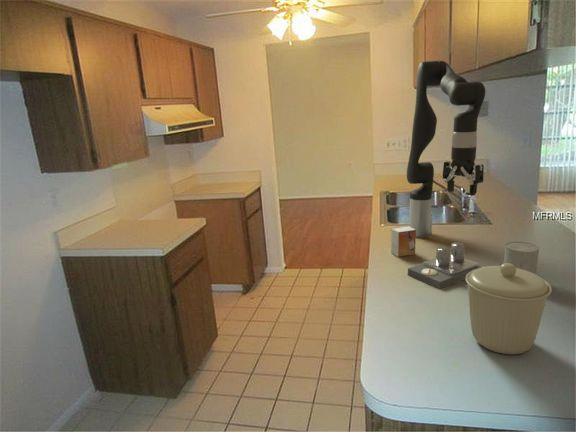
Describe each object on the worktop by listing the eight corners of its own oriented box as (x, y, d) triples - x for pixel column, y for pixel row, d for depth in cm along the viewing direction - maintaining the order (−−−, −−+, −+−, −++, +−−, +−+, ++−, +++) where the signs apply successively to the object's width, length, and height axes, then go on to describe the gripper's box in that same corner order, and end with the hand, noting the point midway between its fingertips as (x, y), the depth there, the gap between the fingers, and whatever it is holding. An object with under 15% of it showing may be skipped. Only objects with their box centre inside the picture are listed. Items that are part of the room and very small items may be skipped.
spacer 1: (441, 261, 141) (442, 245, 139) (452, 265, 137) (453, 249, 136) (433, 264, 139) (433, 248, 137) (443, 268, 135) (444, 252, 134)
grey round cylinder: (505, 273, 137) (508, 239, 134) (537, 279, 131) (541, 244, 128) (498, 283, 130) (502, 248, 127) (532, 290, 124) (536, 253, 121)
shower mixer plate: (449, 255, 148) (450, 253, 148) (478, 265, 138) (478, 263, 138) (423, 264, 142) (423, 261, 142) (451, 275, 132) (451, 272, 131)
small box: (397, 257, 157) (398, 232, 154) (390, 252, 162) (391, 228, 159) (415, 254, 159) (416, 229, 156) (408, 250, 164) (408, 225, 161)
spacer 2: (448, 260, 142) (448, 244, 141) (456, 257, 144) (456, 241, 143) (458, 263, 138) (459, 247, 137) (466, 260, 140) (467, 244, 139)
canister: (473, 316, 111) (478, 246, 106) (549, 337, 100) (559, 259, 94) (451, 347, 98) (456, 268, 92) (536, 375, 86) (547, 287, 81)
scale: (448, 261, 150) (448, 253, 149) (481, 273, 138) (482, 265, 137) (407, 274, 141) (407, 266, 140) (439, 288, 129) (439, 280, 128)
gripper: (491, 145, 126) (487, 195, 131) (453, 143, 138) (451, 188, 143) (475, 147, 123) (472, 198, 127) (438, 145, 135) (436, 191, 139)
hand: (461, 193), depth 135 cm, fingers open, 8 cm apart
